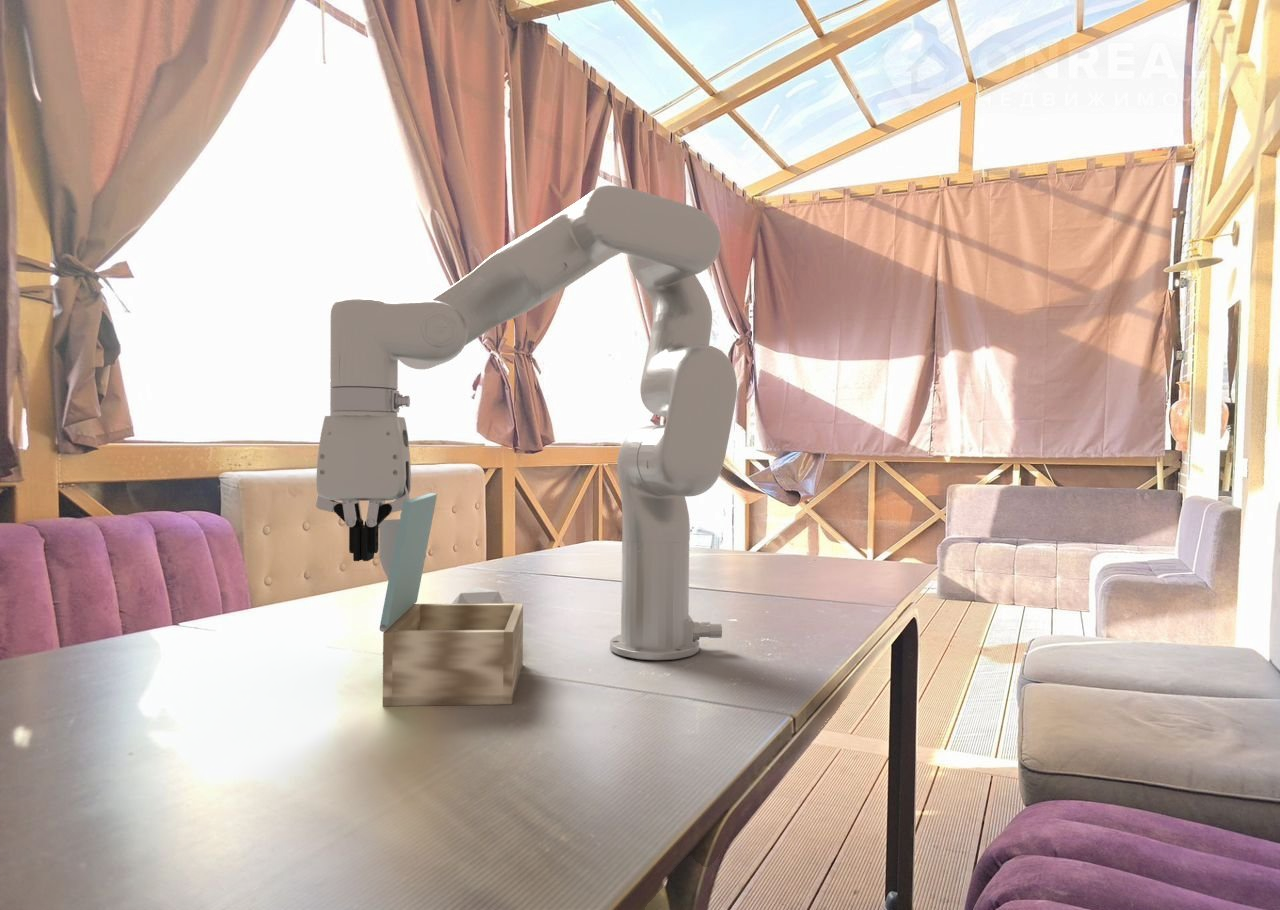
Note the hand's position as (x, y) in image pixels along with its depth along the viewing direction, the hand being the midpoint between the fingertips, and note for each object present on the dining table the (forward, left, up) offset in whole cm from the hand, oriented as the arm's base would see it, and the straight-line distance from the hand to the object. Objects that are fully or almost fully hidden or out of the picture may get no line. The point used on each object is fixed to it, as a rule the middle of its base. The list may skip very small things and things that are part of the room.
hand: (363, 559), depth 93 cm
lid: (-6, 0, 0) cm, 6 cm away
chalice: (-1, -15, -15) cm, 21 cm away
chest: (-11, 0, -15) cm, 19 cm away
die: (-11, -18, -15) cm, 26 cm away
